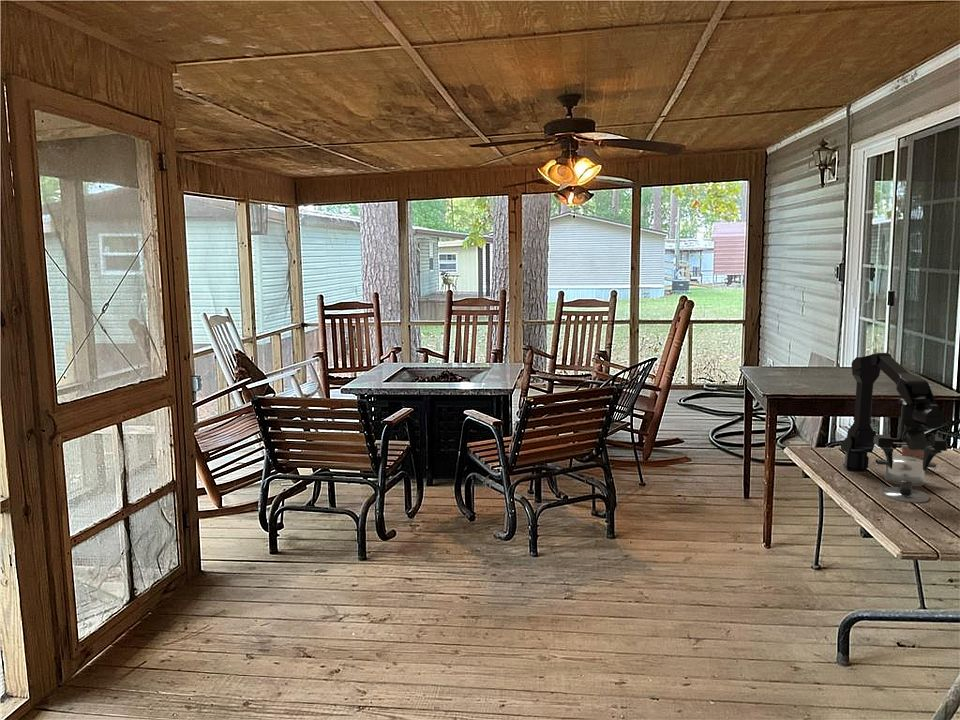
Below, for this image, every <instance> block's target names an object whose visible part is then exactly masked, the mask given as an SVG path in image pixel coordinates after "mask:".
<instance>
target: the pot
mask: <svg viewBox="0 0 960 720" xmlns="http://www.w3.org/2000/svg"><path fill="white" fill-rule="evenodd" d="M875 463H876V464H877V465H884V466H885V470H884V480H885V482H888V483H891V484H894V485H898V486H901V480H910V481H912V487H921V486H923V485H924V484H925V473H926V471H924V470H923V460H920V459H917V458H913V457H907V456H902V455H893V466H892V469H890V467H889V464H888V461H887V458H886V457H885V459H878V458H877V459H876V458H875ZM927 468H932V469H934V468H937V464H936V463H935V462H932V461H931V462H930V463H929V465H928V467H927Z"/></svg>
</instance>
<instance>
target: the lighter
mask: <svg viewBox="0 0 960 720" xmlns="http://www.w3.org/2000/svg"><path fill="white" fill-rule="evenodd" d="M901 456H907V457H913V458H917V459H920V460H923V457H924V450H917V449H915V450H911V449H909V448H908V445H901ZM926 470H928V468H927V469H926Z"/></svg>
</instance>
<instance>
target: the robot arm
mask: <svg viewBox="0 0 960 720" xmlns="http://www.w3.org/2000/svg"><path fill="white" fill-rule="evenodd" d="M881 371H882V373H884V374H885V375H886V376H887V377H888V378H890V381H892V382H893V383H894V384H895V385H896V392H897V393H898V394H899V395H900V396H901V398H900V399H898V400H897V402H898V403H899V404H901V412H900V420H899V421H898V423H899V433H898V436H897V437H898V438H892V437H891V436H890V435H889V434H877V432H876V430H874V429H873V428H872V426H871V419H872V418H871V417H872V406H873V405H872V404H873V395H874V394H873V393H874V383H875V382H876V381H877V379H878V378H879V377H880V374H881ZM851 374H852V377H853V378H854V380H855V381H856V388H855V403H854V415H853V416H854V417H853V423H852V425H851V426H850V427H849V428H848V430H847V435H846V437H845V438H844V439H843V440H842V441H841V443H840V450H841V451H842V452H844V453H845V454H844V455H845V456H844V463H843V464H842V466H843V467H844V468H845V469H846V471H851V472H852V471H853V472H854V471H856V472H868V471H869V470H868V469H869V462H870V461H869V460H870V458H869V456H868V453H870V454H872V453H873V451H874V448H875V446H877V447H878V448H879V449H880V450H882V451H883V453H884V455H885V459H886V458H887V461H888V464H889V467H890V469H892V466H893V456H894V455H893V454H894V448H893V447H894V445H895V446H896V445H897V446H898V445H899V446H902V445H908V448H909V449H911V450H915V449H917V450H924V457H923V470H924V471H925V472H926V469H927V470H928V468H929V467H928V465H929V463H930V462H932V460H933V459H934V457H935V456H936V455H938V454H942V452H947V451H948V442H947V441H946V440H945V439H943V438H942V437H939V436H936V434H934V433H925V431H924V430H925V429H924V427H928V428H929V429H938V428H940V427H941V426H943V424H944V423H945V420H946V419H945V418H946V416H945V414H944V413H943V411H942V410H941V409H940V405H938V404H937V402H936V397H935V396H934V394H933V391H932V388H931V386H930V384H929V382H928V381H927V380H926V379H924V378H923V377H921V376H918V375H915V374H912V373H910V372H909V371H908V370H906V369H905V368H904V366H902V365H901V364H900V363H899V362H897V360H895V359H894V358H893V357H892V355H891V353H889V352H874V353H872V354H869V355H865V356H857V357H855V358H854V359H853V360H852V362H851Z"/></svg>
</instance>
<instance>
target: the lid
mask: <svg viewBox="0 0 960 720" xmlns="http://www.w3.org/2000/svg"><path fill="white" fill-rule="evenodd" d="M881 493H882V495H884V496H885V497H887V498H889V499H892V500H895V501H900V502H905V503H913V502H915V503H916V504H919V503H926V502H929V500H930V495H929V494H928V493H926V492H925V491H921V490H918V489H914V488H912V481H910V480H901V485H899V486H888V487H885V488H883V489H882V491H881ZM915 503H914V504H915Z"/></svg>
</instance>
